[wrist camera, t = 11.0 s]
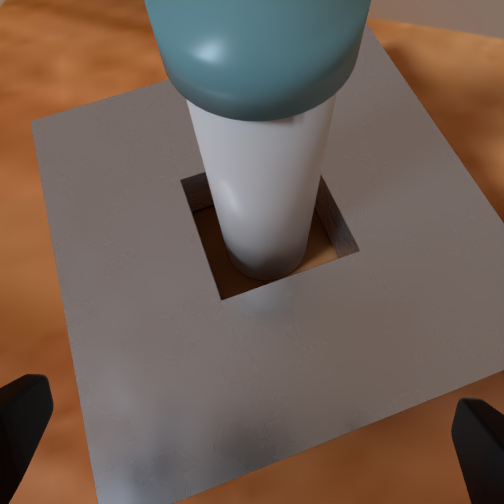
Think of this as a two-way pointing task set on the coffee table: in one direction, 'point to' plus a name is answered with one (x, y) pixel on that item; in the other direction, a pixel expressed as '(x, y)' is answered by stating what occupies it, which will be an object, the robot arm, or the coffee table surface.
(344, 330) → the housing
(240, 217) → the plug
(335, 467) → the coffee table surface
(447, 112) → the coffee table surface
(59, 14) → the coffee table surface
